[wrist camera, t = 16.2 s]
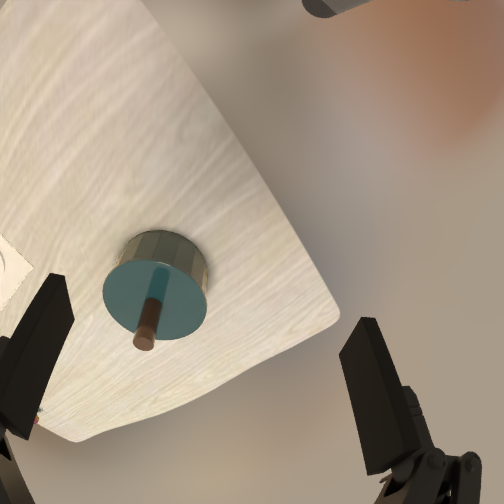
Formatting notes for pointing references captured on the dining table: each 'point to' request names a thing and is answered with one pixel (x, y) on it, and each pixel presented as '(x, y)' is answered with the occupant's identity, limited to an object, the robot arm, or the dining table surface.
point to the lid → (154, 300)
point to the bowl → (168, 252)
